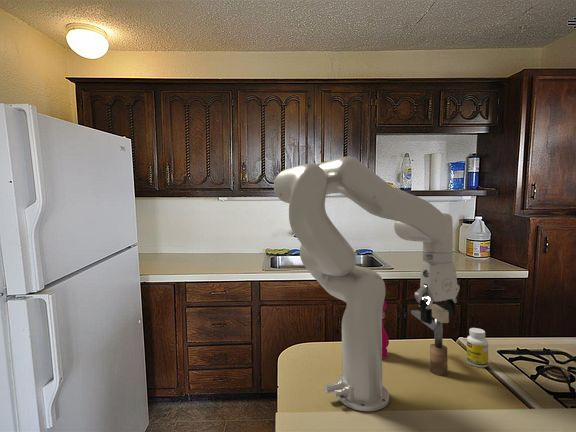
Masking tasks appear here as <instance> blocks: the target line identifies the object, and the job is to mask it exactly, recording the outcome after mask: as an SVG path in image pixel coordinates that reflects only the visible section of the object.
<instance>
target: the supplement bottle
mask: <svg viewBox="0 0 576 432" xmlns="http://www.w3.org/2000/svg"><path fill="white" fill-rule="evenodd" d="M468 332H469V335H468V336H466V337H467V338H466V361H467V363H468V364H469V365H470V366H474V367H476V368H487V367H488V366H489V340H488V339H487V338H486V331H485V330H484V329H482V328H478V327H477V328H476V327H471V328H470V327H469V331H468Z"/></svg>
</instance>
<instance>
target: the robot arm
mask: <svg viewBox="0 0 576 432" xmlns="http://www.w3.org/2000/svg"><path fill="white" fill-rule="evenodd" d="M273 191H274V193H275V196H276V197H277V198H278V199H279V200H280V201H282V202H284V203H286V204H289V205H288V222H289V226H290V229H291V231H292V233H293V234H294V236H295V237H296V239H297V240H298V241H299V243H300V247H299V257H300V260H301V262H302V264H303V266H304V268H305V269H306V270H307V271H308V272H309V273H310V275H311V276H312V277H313V278H314V279H315V280H316V281H317V283H319V285H320V286H321V287H322V288H323V290H325V291H326V292H327V293H328V294H329V295H330V296H332V297H334V298H336V299H338V300H340V301H342V302H344V303H346V306H345V310H344V312H343V315H342V319H341V358H342V359H341V360H342V374H341V375H338V380H336V381H335V382H332V383H331V382H330V383H325V384H324V385H323V390H324V391H325V393H326V394H330V393H333V396H334V397H335V398H338V401H340V402H341V403H342V404H343V405H344V406H346V407H348V408H349V409H352V410H354V411H355V410H356V411H360V412H375V411H380V410H381V409H384V408H385V407H387V405H388V404H389V403H390V391H388V389H387V388H386V387H385V386H384V385H383V359H382V309H383V304H384V300H385V297H386V285H385V284H386V283H385V281H384V279H383V278H382V276H381V275H380V274H379V273H378V272H376V271H374V270H373V269H371V268H367V267H363V266H360V265H356V264H357V256H356V253H355V251H354V248H353V247H352V245H351V244H350V243H349V241H348V240H347V239H346V238H345V237H344V236H343V234H342V233H341V232H340V231H339V230H338V228H337V227H336V226H335V224H334V223H333V222H332V221H331V219H330V218H329V216H328V213H327V211H326V198H327V197H326V196H327V195H330V194H342V195H343V196H345V197H346V198H348V199H349V200H350V201H352V202H354V204H356V205H358V206H359V207H360V208H361V209H363V210H365V211H366V212H367V213H369V214H371V215H373V216H375V217H379V218H382V219H386V220H391V221H395V222H394V226H393V229H394V233H395V234H396V236H397V237H399V238H400V239H401V240H405V241H410V242H419V243H420V242H421V243H422V263H421V264H422V265H421V271H420V283H419V286H420V287H419V288H418V289H417V291H415V292H414V298H415V301H416V303H417V304H418V307H420V312H421V322H422V321H423V322H425V323H428V324H431V323H432V320H433V317H432V309H430V307H431V305H432V304H434V302H435V303H440V302H443V309H445V310H447V311H448V312H449V317H450V318H456V314H457V313H456V312H457V311H456V304H457V302H458V299H457V298H458V297H459V291H460V289H461V288H460V284H458V280H457V279H458V276H457V270H456V264H455V263H454V251H453V250H454V249H453V248H454V245H453V244H454V243H453V241H454V239H453V238H454V236H453V235H454V234H453V232H454V231H453V229H454V228H453V227H454V225H453V223H454V222H453V216H452V215H451V214H450V213H445V212H444V213H443V212H442V211H440V209H438V208H437V207H436V206H434V205H433V204H432V203H431V202H429V201H427V200H425V199H423V198H421V197H420V196H417V195H414V194H411V193H410V192H407V191H405V190H402V189H400V188H397V187H394V186H392V185H390V184H389V183H388V182H387V181H386V180H384V179H383V178H381V177H380V176H379V175H378V174H377V173H375V172H374V171H373V170H371V168H369V167H367V166H366V165H365V164H364V163H362V162H361V161H360V160H359V159H357V158H355V157H353V156H342V157H341V156H340V157H337V158H334V159H330V160H327V161H322V162H319V163H303V164H299V165H296V166H292V167H289V168H287V169H284V170H282V171H280V172H279V173H278V174H277V176H276V177H275V179H274V180H273ZM426 301H427V302H426ZM423 322H422V323H423Z"/></svg>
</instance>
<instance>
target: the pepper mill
mask: <svg viewBox="0 0 576 432" xmlns="http://www.w3.org/2000/svg"><path fill="white" fill-rule="evenodd" d="M385 310H387V302H386V300H385V299H384V304H383V309H382V360H383V359H385V358H387V357H388V346H389V344H390V340H389V339H390V338H389V336H388V334H387V331H386V328H385V327H384V326H385V325H384V319H385V317H386V313H385Z"/></svg>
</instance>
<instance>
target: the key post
mask: <svg viewBox="0 0 576 432" xmlns="http://www.w3.org/2000/svg"><path fill="white" fill-rule="evenodd" d="M448 363H449V362H448V347H447V346H446V345H444V344H443V347H436V346H435V343H430V345H429V367H430V368H429V370H430V373H431V374H434V375H435V376H439V377H445V376H447V375H448V373H449V371H448V369H449V368H448V366H449V365H448Z"/></svg>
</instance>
